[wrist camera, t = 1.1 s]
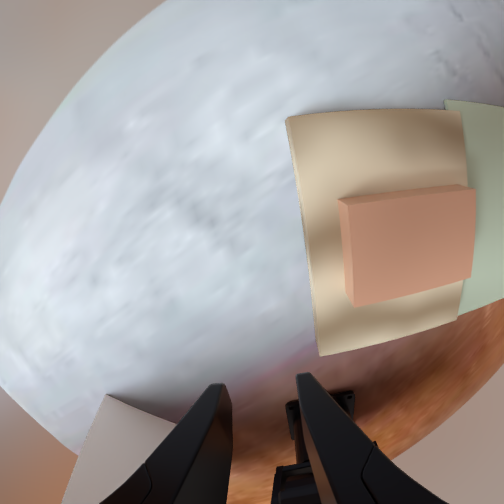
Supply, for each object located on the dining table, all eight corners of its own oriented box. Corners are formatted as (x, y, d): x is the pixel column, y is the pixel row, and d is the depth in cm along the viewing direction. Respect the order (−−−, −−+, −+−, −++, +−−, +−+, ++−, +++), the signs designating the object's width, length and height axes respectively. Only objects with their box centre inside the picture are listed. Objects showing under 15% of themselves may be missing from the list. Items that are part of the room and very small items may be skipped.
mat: (521, 287, 20) (523, 288, 19) (445, 317, 21) (447, 319, 20) (526, 112, 14) (528, 112, 14) (443, 100, 15) (446, 99, 15)
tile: (455, 266, 17) (470, 277, 15) (345, 292, 18) (353, 307, 16) (457, 184, 15) (475, 188, 13) (337, 199, 16) (347, 205, 14)
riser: (445, 308, 20) (456, 319, 18) (315, 340, 21) (320, 356, 19) (444, 112, 15) (459, 111, 13) (284, 120, 16) (288, 116, 14)
